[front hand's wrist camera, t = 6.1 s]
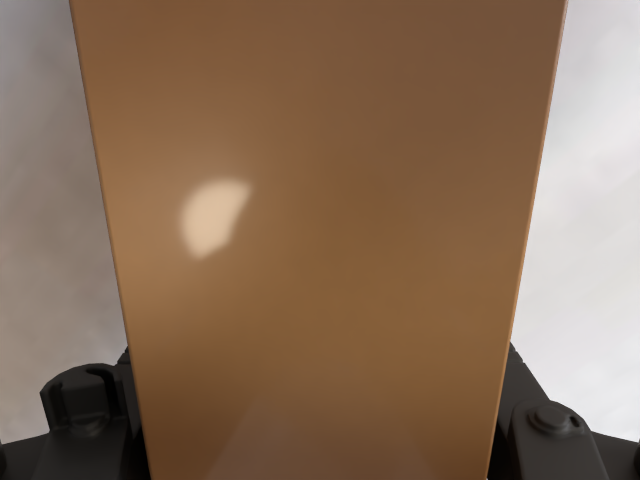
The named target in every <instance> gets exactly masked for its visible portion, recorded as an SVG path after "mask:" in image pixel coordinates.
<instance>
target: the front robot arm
mask: <svg viewBox="0 0 640 480" xmlns="http://www.w3.org/2000/svg"><path fill="white" fill-rule="evenodd" d="M40 396H41V400H42V403H43V407H44V411H45V414H46V418H47V421H48V425H49V429H50V431H49V433H47V434H43V435H40V436H37V437H33V438H28V439H24V440H20V441H15V442H11V443H7V444H1V441H0V480H151V477H150V472H149V466H148V460H147V454H146V448H145V442H144V437H143V431H142V425H141V419H140V413H139V407H138V402H137V396H136V390H135V384H134V378H133V372H132V367H131V361H130V355H129V349H128V346H127V348H126V349H125V353H123V354H122V355H121V357H120V358H119V360H118V361H117V364H115V366H112V365H108V364H104V363H95V364H86V365H82V366H78V367H74V368H71V369H69V370H67V371H65V372H62V373H60V374H58V375H57V376H56V377H54V378H53V379H52V380H50V381H49V382H47V383H46V385H45V386H44V387H43V389H42V390H41V391H40ZM487 479H488V480H640V440H639V443H637V442H633V441H629V440H624V439H620V438H616V437H611V436H607V435H603V434H599V433H596V432H593V431H591V430H590V428H589V427H588V425H587V424H586V422H585V421H584V419H583V418H582V417H580V416H579V415H578V414H577V413H576V412H574V411H573V410H572V409H570V408H568V407H566V406H564V405H562V404H560V403H558V402H555V401H551V400H549V398H548V397H547V395H546V394H545V392H544V391H543V389H542V388H541V386H540V385H539V383H538V382H537V380H536V379H535V377H534V376H533V374H532V373H531V371H530V370H529V368H528V367H527V366H526V364H525V363H523V360H522V358H521V357H520V355H519V354H518V352H516V351H515V348H514V346H513V345H512V343H511V342H510V345H509V351H508V357H507V362H506V368H505V374H504V380H503V386H502V392H501V397H500V403H499V409H498V415H497V421H496V427H495V432H494V438H493V444H492V450H491V456H490V462H489V468H488V473H487Z"/></svg>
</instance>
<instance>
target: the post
mask: <svg viewBox="0 0 640 480" xmlns="http://www.w3.org/2000/svg"><path fill="white" fill-rule="evenodd" d="M69 5H70V10H71V16H72V22H73V28H74V34H75V40H76V45H77V51H78V57H79V63H80V69H81V75H82V80H83V86H84V92H85V98H86V104H87V110H88V115H89V121H90V127H91V133H92V139H93V145H94V150H95V156H96V162H97V168H98V174H99V180H100V186H101V191H102V197H103V203H104V209H105V215H106V221H107V226H108V232H109V238H110V244H111V250H112V256H113V261H114V267H115V273H116V279H117V285H118V291H119V296H120V302H121V308H122V314H123V320H124V326H125V331H126V337H127V343H128V349H129V355H130V361H131V367H132V372H133V378H134V384H135V390H136V396H137V402H138V407H139V413H140V419H141V425H142V431H143V437H144V442H145V448H146V454H147V460H148V466H149V472H150V477H151V480H486V479H487V473H488V468H489V462H490V456H491V450H492V444H493V438H494V432H495V427H496V421H497V415H498V409H499V403H500V397H501V392H502V386H503V380H504V374H505V368H506V362H507V357H508V351H509V345H510V339H511V333H512V327H513V321H514V316H515V310H516V304H517V298H518V292H519V286H520V281H521V275H522V269H523V263H524V257H525V251H526V245H527V240H528V234H529V228H530V222H531V216H532V210H533V205H534V199H535V193H536V187H537V181H538V175H539V170H540V164H541V158H542V152H543V146H544V140H545V134H546V129H547V123H548V117H549V111H550V105H551V99H552V94H553V88H554V82H555V76H556V70H557V64H558V58H559V53H560V47H561V41H562V35H563V29H564V23H565V18H566V12H567V6H568V0H69Z"/></svg>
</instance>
